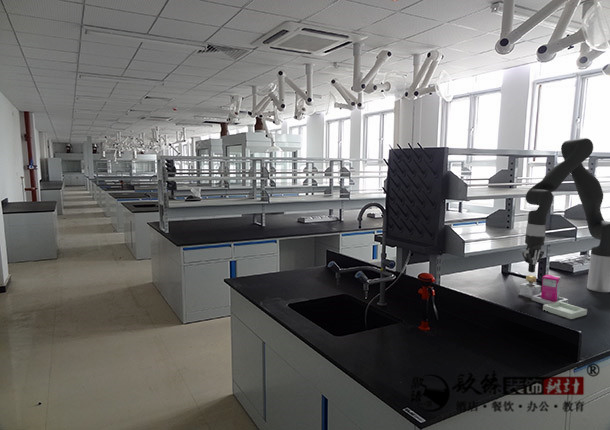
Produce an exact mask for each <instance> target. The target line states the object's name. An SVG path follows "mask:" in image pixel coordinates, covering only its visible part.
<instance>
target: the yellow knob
mask: <svg viewBox="0 0 610 430" xmlns="http://www.w3.org/2000/svg"><path fill="white" fill-rule="evenodd" d="M525 281H526V282H528V283H529V286H533V284H534V283H536V282H537V276H536V275H531V274H530V275H529V274H528V275H526V277H525Z"/></svg>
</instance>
